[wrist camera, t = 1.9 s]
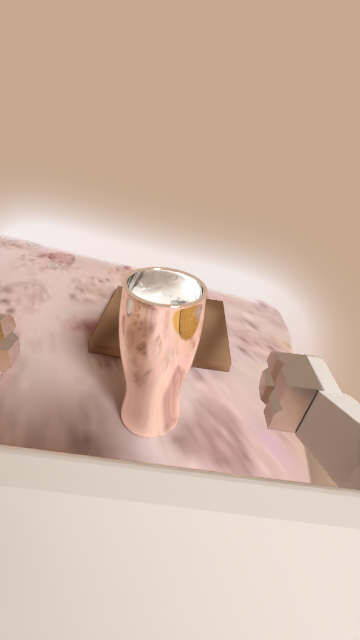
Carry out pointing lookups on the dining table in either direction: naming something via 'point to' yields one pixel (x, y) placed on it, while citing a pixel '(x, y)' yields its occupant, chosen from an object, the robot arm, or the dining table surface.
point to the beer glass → (158, 344)
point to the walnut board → (211, 344)
